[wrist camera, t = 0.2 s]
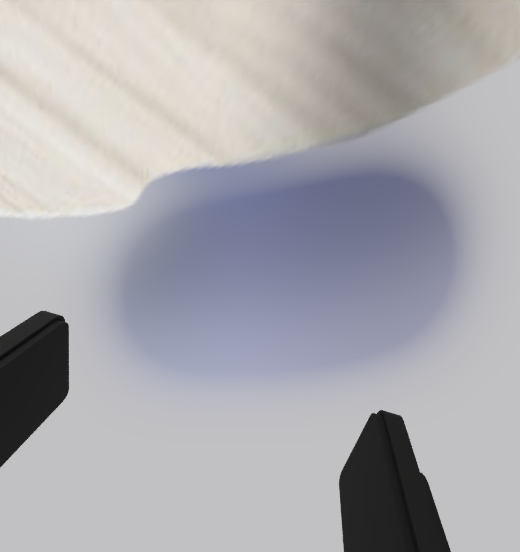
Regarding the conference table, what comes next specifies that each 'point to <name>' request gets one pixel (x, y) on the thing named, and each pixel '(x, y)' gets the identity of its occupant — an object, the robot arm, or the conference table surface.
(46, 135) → the conference table surface
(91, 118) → the conference table surface
